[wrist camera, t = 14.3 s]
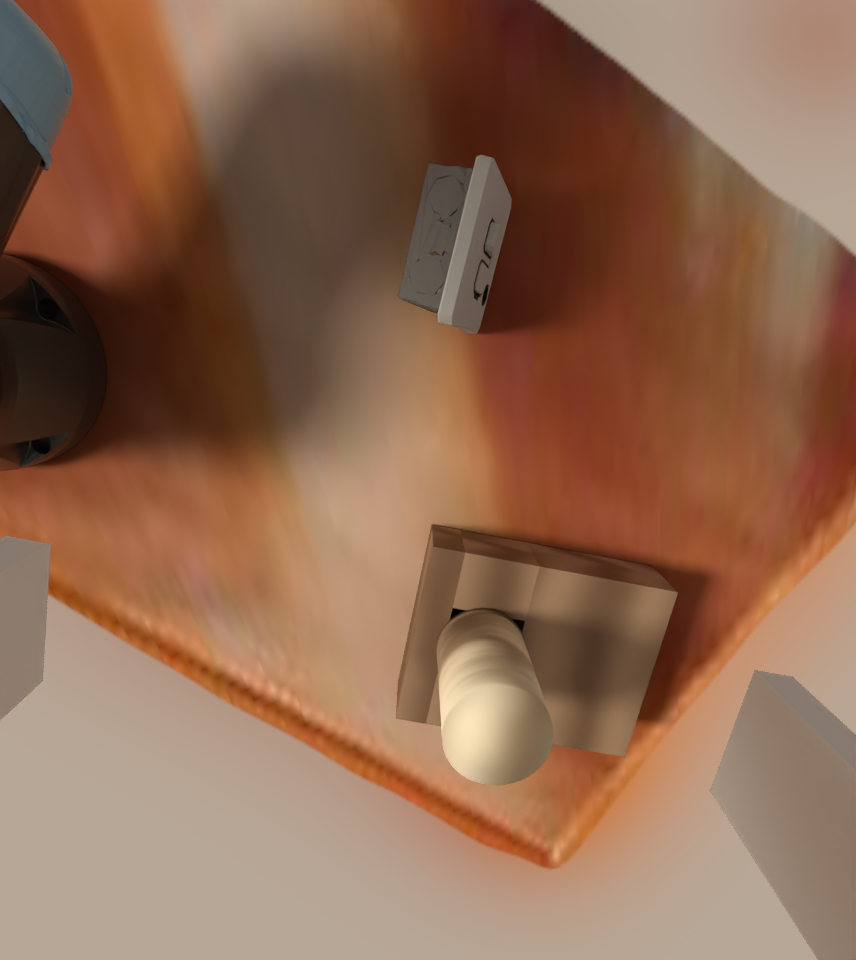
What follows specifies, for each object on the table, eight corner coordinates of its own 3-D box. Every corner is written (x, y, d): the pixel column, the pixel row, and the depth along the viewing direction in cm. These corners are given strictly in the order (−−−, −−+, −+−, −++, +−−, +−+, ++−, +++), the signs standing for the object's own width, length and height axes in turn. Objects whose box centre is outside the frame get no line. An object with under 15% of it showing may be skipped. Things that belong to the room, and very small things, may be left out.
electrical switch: (477, 336, 44) (478, 332, 35) (408, 318, 44) (391, 310, 35) (513, 201, 41) (524, 159, 32) (440, 183, 42) (431, 136, 33)
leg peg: (427, 648, 49) (430, 776, 35) (443, 575, 47) (454, 678, 33) (504, 662, 49) (539, 793, 35) (523, 590, 48) (567, 697, 34)
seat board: (398, 681, 50) (395, 718, 45) (431, 524, 47) (433, 546, 42) (605, 716, 51) (624, 756, 46) (651, 566, 48) (678, 592, 43)
